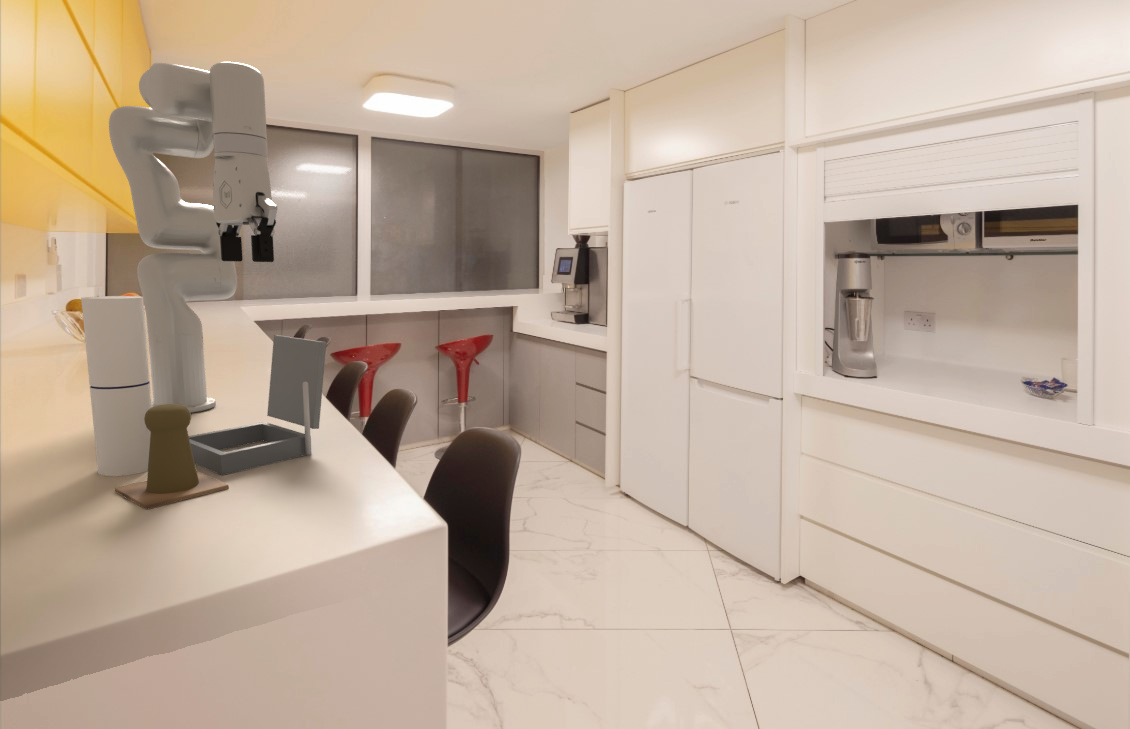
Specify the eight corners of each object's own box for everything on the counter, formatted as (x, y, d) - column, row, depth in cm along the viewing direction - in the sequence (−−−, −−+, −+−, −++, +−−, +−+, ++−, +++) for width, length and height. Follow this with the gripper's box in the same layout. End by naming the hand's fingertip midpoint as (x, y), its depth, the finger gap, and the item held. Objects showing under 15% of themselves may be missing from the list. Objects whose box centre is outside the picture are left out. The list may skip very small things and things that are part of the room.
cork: (135, 489, 85) (128, 407, 83) (178, 476, 90) (172, 398, 89) (167, 496, 82) (161, 412, 81) (209, 482, 88) (204, 403, 86)
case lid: (274, 335, 111) (279, 335, 112) (267, 415, 112) (272, 415, 112) (320, 341, 103) (326, 342, 103) (313, 428, 103) (318, 428, 104)
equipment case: (178, 456, 101) (173, 381, 99) (265, 438, 112) (261, 370, 110) (226, 477, 92) (221, 394, 90) (315, 455, 103) (312, 381, 101)
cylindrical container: (92, 478, 90) (74, 298, 86) (104, 463, 97) (88, 296, 93) (151, 472, 93) (137, 298, 89) (160, 458, 99) (147, 296, 96)
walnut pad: (114, 491, 85) (114, 487, 85) (194, 473, 93) (194, 469, 93) (146, 509, 79) (146, 505, 79) (228, 488, 87) (228, 484, 87)
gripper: (190, 151, 103) (197, 260, 105) (245, 140, 92) (251, 261, 95) (237, 158, 108) (243, 261, 111) (294, 148, 98) (299, 262, 101)
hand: (247, 261), depth 103 cm, fingers open, 9 cm apart
